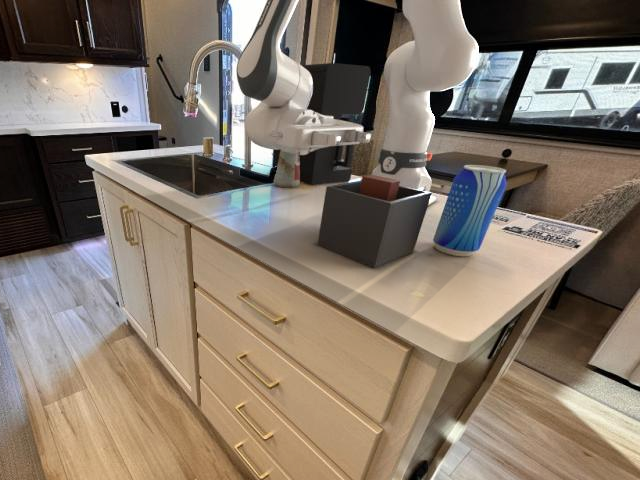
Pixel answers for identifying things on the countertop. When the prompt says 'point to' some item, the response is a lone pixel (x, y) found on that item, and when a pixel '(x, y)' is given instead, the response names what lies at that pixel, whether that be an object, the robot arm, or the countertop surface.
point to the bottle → (287, 170)
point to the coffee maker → (333, 99)
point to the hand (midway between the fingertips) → (353, 139)
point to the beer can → (469, 209)
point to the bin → (371, 223)
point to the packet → (379, 187)
